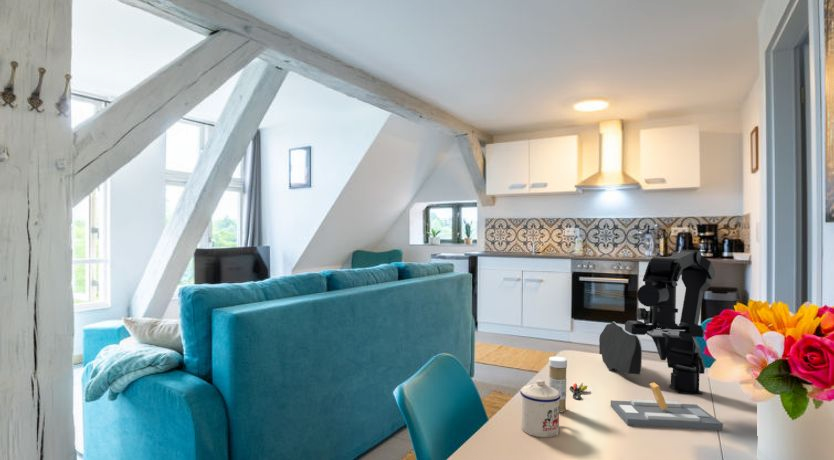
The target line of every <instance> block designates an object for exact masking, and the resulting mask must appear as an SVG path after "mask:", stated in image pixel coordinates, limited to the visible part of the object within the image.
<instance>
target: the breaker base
mask: <svg viewBox="0 0 834 460" xmlns="http://www.w3.org/2000/svg"><path fill="white" fill-rule="evenodd" d="M665 402H666V405H667V407H668V409H667V410H668V411H667V412H665V411H664V410H663V409H661V408H660V407H659V406H658V404H657V401H656V399H654V400H652V399H635V398H634V399H632V398H631V399H630V401H627V400H612V399H611V400H610V407H611V409H612V410H613V411H614V412H615V413H616V414H617V415H618V416H619V418H620V419H621V420H622V421H623V422H624V423H625V424H626V425H627V426H630V427H631V426H632V427H650V428H651V427H653V428H669V429H671V428H673V429H687V430H688V429H690V430H691V429H692V430H707V431H711V430H712V431H723V429H724V427H723V426H724V423H723V422H721V421H720V420H718V419H717V418H716V417H715V416H713V415H711V414H710V413H709V412H708V411H707V410H705V409H703V408H702V407H701V406H700V405H698V404H695V403H691V404H690V403H680V401H678V400H675V401H674V400H665Z"/></svg>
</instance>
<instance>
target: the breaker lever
mask: <svg viewBox="0 0 834 460" xmlns="http://www.w3.org/2000/svg"><path fill="white" fill-rule="evenodd" d="M649 387H650V388H651V391H652V394H653V395H654V400H656V401H657V404H658V406H659V407H660V408H661V409H663V410H664V411H665V412H667V411H668V410H667V409H668V407H667V405H666V402H665V401H666V400H665V397H664V396H663V393H662V391H661V388H660V386H659V385H658V384H657V383H656V382H654V381H653V382H651V383H649Z"/></svg>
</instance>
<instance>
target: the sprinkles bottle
mask: <svg viewBox="0 0 834 460" xmlns="http://www.w3.org/2000/svg"><path fill="white" fill-rule="evenodd" d="M548 366H549V370H548V372H549V374H548V386H550V387H552V388H554V389H556V390H557V391H558V392H559V393H560V399H559V413H564V412H566V410H567V407H566V404H567V403H566V401H567V367H568V360H567V359H566V358H565V357H564V356H562V357H561V356H550V357H549V358H548Z"/></svg>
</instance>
